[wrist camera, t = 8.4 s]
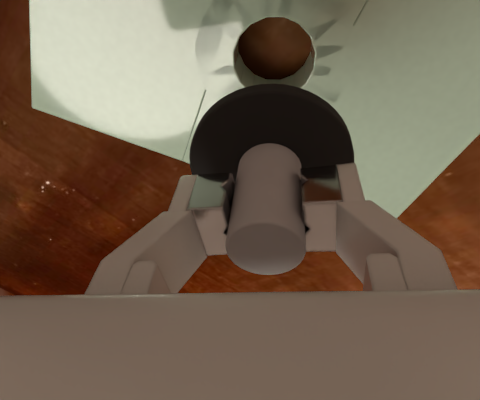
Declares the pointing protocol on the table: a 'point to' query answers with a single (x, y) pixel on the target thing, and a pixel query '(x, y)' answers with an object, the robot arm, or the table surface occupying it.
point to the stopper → (268, 167)
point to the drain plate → (239, 76)
